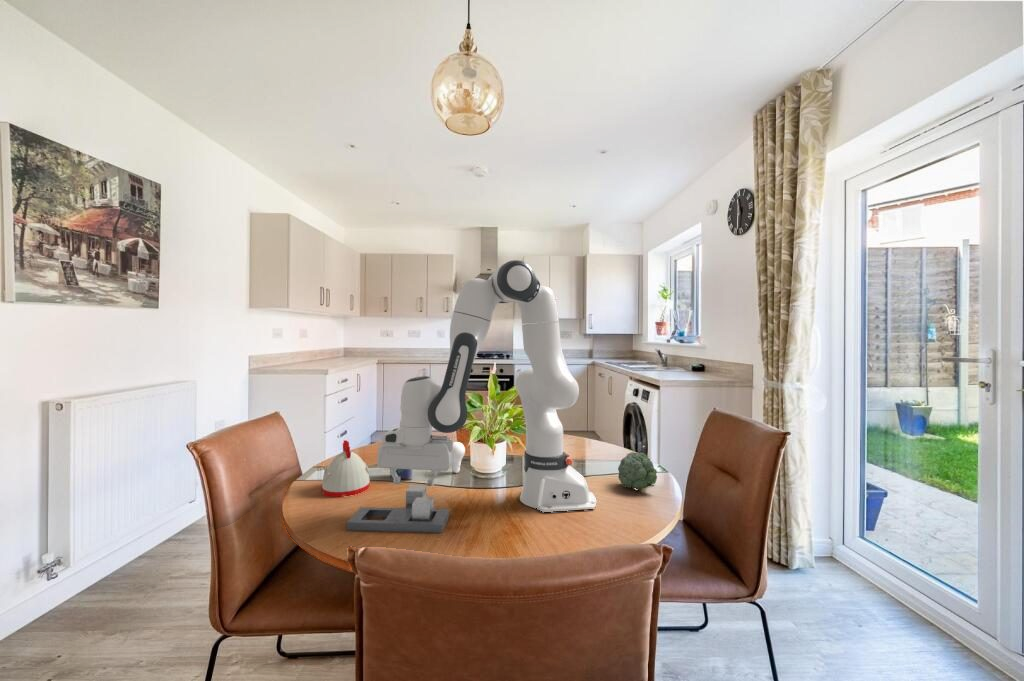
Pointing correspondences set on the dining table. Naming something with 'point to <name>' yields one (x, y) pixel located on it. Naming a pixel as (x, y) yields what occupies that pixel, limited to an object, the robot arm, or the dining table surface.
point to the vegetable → (637, 471)
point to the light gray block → (423, 509)
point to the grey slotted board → (396, 520)
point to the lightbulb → (457, 455)
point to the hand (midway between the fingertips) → (413, 484)
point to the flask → (404, 474)
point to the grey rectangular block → (414, 494)
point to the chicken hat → (345, 474)
